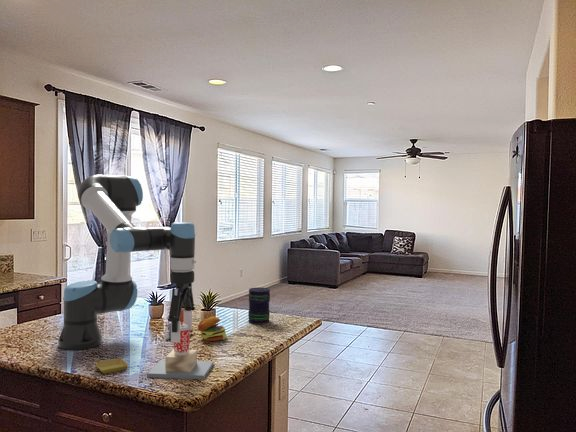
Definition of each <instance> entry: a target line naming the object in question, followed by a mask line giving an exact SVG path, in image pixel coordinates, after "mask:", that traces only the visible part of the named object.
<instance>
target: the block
mask: <svg viewBox="0 0 576 432" xmlns="http://www.w3.org/2000/svg"><path fill="white" fill-rule="evenodd" d="M164 360H165V371H175V372H191V371H192V369H193V368H194V367H195V365H196V364H197V361H198V349H189V354H187V355H183V356H178V355H175V354H174V348H173V349H172V350H170V352H169V353H168V354H167V355H166V356H165V359H164Z"/></svg>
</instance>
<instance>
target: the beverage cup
mask: <svg viewBox="0 0 576 432" xmlns="http://www.w3.org/2000/svg"><path fill="white" fill-rule="evenodd" d="M180 318H181V319H180V342H173V349H174V354H175V355H178V356H183V355H187V354H189V350H190V341H191V332H190V329H191V325H190V324H186V323H184V310H183V309H181V314H180Z"/></svg>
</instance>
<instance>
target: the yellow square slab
mask: <svg viewBox="0 0 576 432" xmlns="http://www.w3.org/2000/svg"><path fill="white" fill-rule="evenodd" d="M94 364H95V365H96V367H97V368H98V369H99V371H100V372H101V373H102V374H103V375H105V374H112V373H115V372H120V371H121V372H122V371H126V370H127V368H128V367H129V364H128V363H127V362H126V361H125V360H124V358H123V357H118V358H111V359H106V360H100V361H96V362H94Z"/></svg>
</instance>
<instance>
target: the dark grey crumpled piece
mask: <svg viewBox="0 0 576 432" xmlns="http://www.w3.org/2000/svg"><path fill="white" fill-rule="evenodd" d="M167 330H168V332H167V334H166V337H165V340H166V341H169V340H171V323H169V324H168V326H167ZM190 333H193V329H192V330H190Z"/></svg>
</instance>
